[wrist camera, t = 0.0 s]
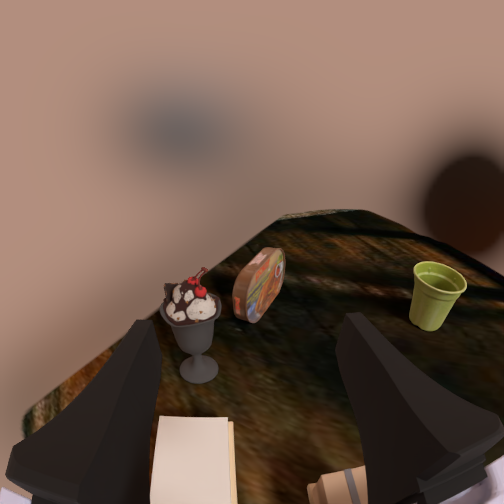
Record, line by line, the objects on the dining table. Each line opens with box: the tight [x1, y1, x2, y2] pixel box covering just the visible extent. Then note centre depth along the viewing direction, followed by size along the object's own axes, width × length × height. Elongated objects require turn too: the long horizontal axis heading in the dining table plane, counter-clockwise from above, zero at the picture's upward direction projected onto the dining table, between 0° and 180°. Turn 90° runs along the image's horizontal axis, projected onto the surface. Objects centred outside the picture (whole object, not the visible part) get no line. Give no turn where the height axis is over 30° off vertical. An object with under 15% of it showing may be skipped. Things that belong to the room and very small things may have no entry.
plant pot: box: [409, 262, 467, 331], centre depth 42 cm, size 9×9×9 cm
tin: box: [232, 247, 285, 323], centre depth 48 cm, size 15×3×8 cm, turn 154°
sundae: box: [160, 267, 221, 383], centre depth 33 cm, size 7×7×15 cm
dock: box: [150, 416, 237, 504], centre depth 20 cm, size 8×19×2 cm, turn 4°
